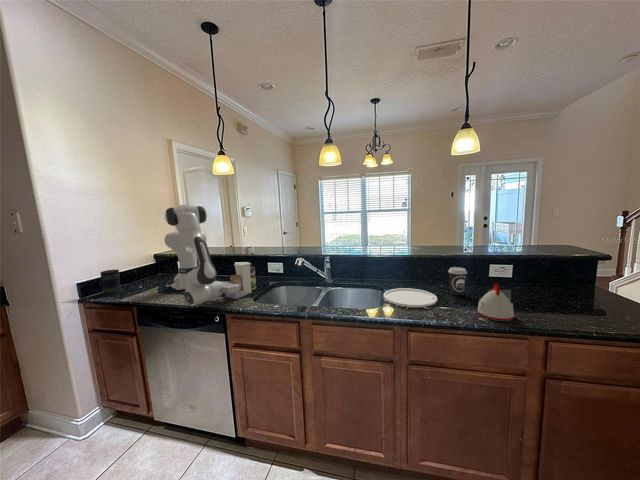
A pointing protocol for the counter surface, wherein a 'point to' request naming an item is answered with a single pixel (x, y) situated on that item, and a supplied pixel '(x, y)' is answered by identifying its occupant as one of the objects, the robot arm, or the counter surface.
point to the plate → (410, 297)
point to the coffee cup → (457, 280)
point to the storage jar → (110, 282)
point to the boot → (242, 280)
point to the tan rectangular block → (235, 280)
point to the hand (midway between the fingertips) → (234, 283)
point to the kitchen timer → (496, 305)
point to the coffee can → (252, 277)
